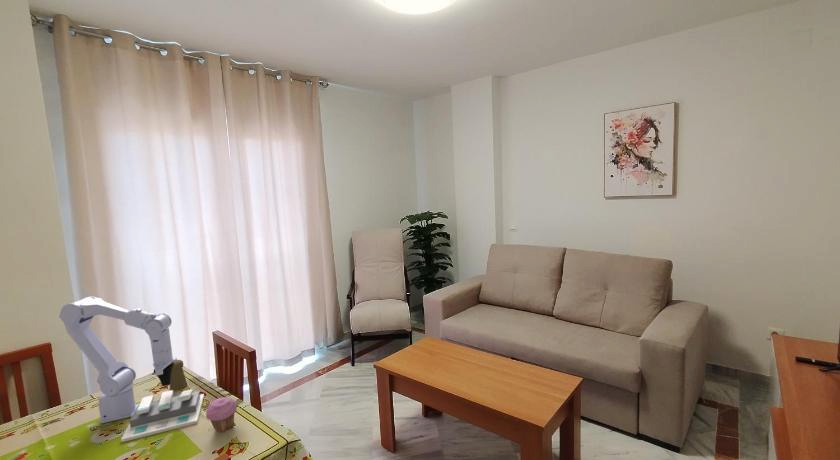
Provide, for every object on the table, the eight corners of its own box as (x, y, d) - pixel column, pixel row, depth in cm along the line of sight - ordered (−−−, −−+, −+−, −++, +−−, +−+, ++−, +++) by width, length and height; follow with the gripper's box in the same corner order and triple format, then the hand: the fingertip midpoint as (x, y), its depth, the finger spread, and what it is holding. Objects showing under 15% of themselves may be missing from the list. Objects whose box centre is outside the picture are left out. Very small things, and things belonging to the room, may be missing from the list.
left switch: (137, 417, 125) (136, 411, 125) (143, 402, 133) (142, 397, 132) (148, 414, 127) (147, 408, 126) (154, 400, 134) (153, 394, 133)
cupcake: (223, 438, 118) (219, 409, 117) (202, 434, 121) (198, 405, 119) (244, 421, 126) (241, 394, 125) (224, 417, 129) (221, 390, 128)
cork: (178, 391, 147) (175, 365, 146) (165, 390, 148) (162, 364, 147) (190, 383, 153) (187, 358, 152) (178, 382, 154) (175, 357, 153)
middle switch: (158, 413, 128) (157, 407, 127) (163, 397, 135) (162, 392, 134) (169, 410, 129) (168, 405, 129) (173, 395, 136) (172, 389, 136)
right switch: (178, 404, 130) (178, 398, 130) (183, 397, 137) (182, 391, 137) (189, 402, 131) (188, 395, 131) (193, 395, 138) (192, 388, 139)
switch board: (121, 442, 118) (119, 432, 118) (137, 411, 135) (136, 402, 134) (197, 423, 127) (196, 413, 126) (204, 396, 143) (203, 387, 143)
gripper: (170, 354, 128) (175, 391, 129) (178, 339, 141) (183, 373, 142) (145, 359, 125) (151, 397, 126) (156, 343, 138) (161, 377, 140)
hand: (166, 384), depth 134 cm, fingers closed
